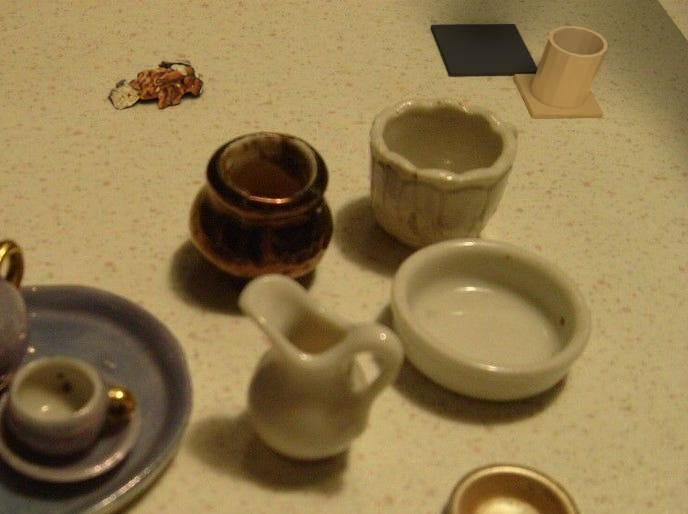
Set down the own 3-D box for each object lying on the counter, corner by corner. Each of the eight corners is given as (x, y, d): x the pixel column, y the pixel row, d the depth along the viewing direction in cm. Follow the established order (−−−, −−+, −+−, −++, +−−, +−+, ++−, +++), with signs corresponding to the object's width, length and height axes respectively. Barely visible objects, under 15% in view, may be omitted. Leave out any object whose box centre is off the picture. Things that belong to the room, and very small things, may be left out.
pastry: (102, 91, 111) (100, 66, 108) (186, 68, 114) (186, 44, 111) (123, 120, 107) (121, 95, 104) (210, 96, 110) (210, 72, 107)
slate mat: (513, 27, 122) (514, 23, 121) (537, 75, 114) (539, 71, 114) (430, 28, 121) (431, 24, 121) (449, 76, 114) (450, 72, 113)
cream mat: (579, 76, 114) (581, 73, 114) (601, 117, 109) (603, 113, 108) (513, 77, 114) (514, 73, 113) (532, 118, 108) (533, 114, 108)
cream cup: (574, 81, 114) (596, 25, 107) (591, 112, 109) (615, 56, 103) (522, 82, 113) (542, 25, 107) (537, 113, 109) (558, 57, 103)
